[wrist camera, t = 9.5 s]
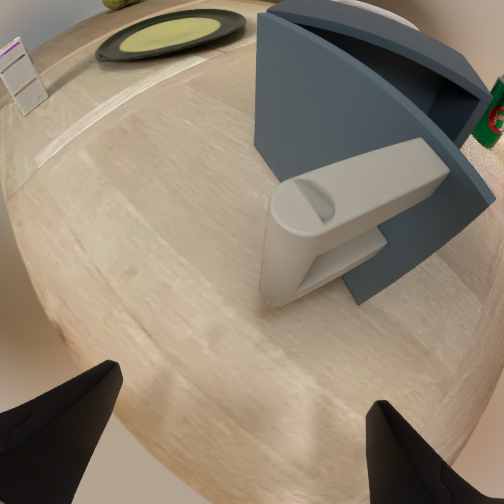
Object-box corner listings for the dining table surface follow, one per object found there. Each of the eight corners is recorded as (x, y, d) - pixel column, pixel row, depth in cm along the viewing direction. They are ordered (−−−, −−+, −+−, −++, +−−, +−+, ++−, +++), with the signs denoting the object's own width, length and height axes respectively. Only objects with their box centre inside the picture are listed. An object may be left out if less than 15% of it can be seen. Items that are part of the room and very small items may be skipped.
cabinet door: (275, 352, 16) (342, 317, 4) (185, 170, 21) (152, 33, 10) (367, 299, 17) (497, 198, 6) (262, 143, 23) (268, 12, 11)
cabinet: (420, 199, 21) (493, 98, 9) (260, 141, 23) (266, 8, 11) (417, 141, 24) (462, 54, 13) (287, 94, 26) (298, -7, 15)
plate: (261, 18, 40) (262, 9, 38) (214, 68, 29) (213, 53, 27) (147, 22, 42) (145, 14, 40) (70, 80, 31) (65, 70, 29)
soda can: (475, 124, 28) (505, 73, 17) (495, 147, 26) (529, 98, 15) (464, 126, 27) (497, 70, 16) (486, 152, 25) (524, 97, 14)
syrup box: (50, 96, 30) (21, 35, 16) (23, 118, 28) (-10, 58, 15) (46, 90, 31) (20, 34, 18) (21, 109, 30) (-7, 55, 16)
